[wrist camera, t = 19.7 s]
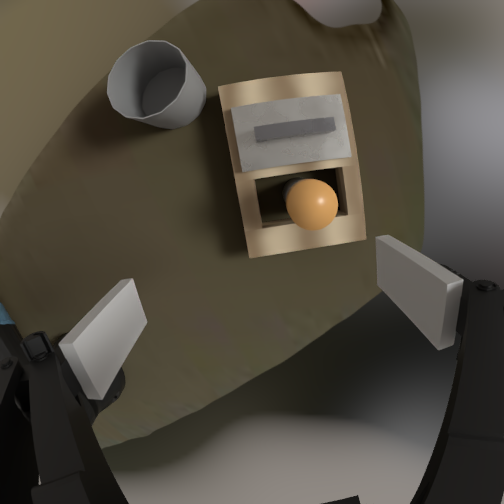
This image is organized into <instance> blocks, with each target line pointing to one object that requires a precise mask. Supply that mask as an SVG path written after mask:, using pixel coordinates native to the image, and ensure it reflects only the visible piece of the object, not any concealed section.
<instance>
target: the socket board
mask: <svg viewBox="0 0 504 504" xmlns="http://www.w3.org/2000/svg"><path fill="white" fill-rule="evenodd" d="M218 89H219V95H220V100H221V106H222V111H223V117H224V122H225V128H226V133H227V139H228V144H229V150H230V155H231V160H232V166H233V171H234V177H235V182H236V188H237V193H238V198H239V204H240V209H241V215H242V220H243V225H244V231H245V236H246V241H247V247H248V252H249V257H250V258H255V257H261V256H267V255H274V254H280V253H286V252H292V251H298V250H305V249H311V248H317V247H323V246H329V245H335V244H342V243H348V242H354V241H360V240H366V228H365V216H364V205H363V195H362V187H361V178H360V170H359V163H358V156H357V150H356V143H355V137H354V131H353V126H352V120H351V115H350V110H349V105H348V100H347V95H346V90H345V86H344V81H343V77H342V73H341V72H322V73H308V74H297V75H287V76H279V77H271V78H264V79H257V80H251V81H245V82H239V83H234V84H229V85H223V86H219V87H218ZM334 94H340V95H341V100H342V104H343V109H344V115H345V120H346V125H347V131H348V137H349V143H350V149H351V156H352V157H347V158H337V159H329V160H320V161H312V162H305V163H298V164H291V165H284V166H277V167H271V168H264V169H258V170H253V171H247V172H242V167H241V161H240V156H239V150H238V145H237V139H236V134H235V128H234V123H233V118H232V112H231V108H232V107H238V106H243V105H249V104H255V103H261V102H268V101H275V100H282V99H290V98H299V97H309V96H320V95H334ZM327 168H335V172H336V179H337V186H338V194H339V202H340V211H337V214H336V216H335V218H334V219H333V221H332V222H331V223H330V224H329V225H328V226H326V227H325V228H322V229H320V230H313V231H311V230H305V229H303V228H301V227H299V226H298V225H296V224H295V223H294V221H293V220H292V219H291V218H287V219H281V220H275V221H268V222H262V219H261V214H260V208H259V202H258V196H257V191H256V185H255V179H259V178H265V177H271V176H277V175H284V174H290V173H297V172H304V171H312V170H319V169H327Z"/></svg>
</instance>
